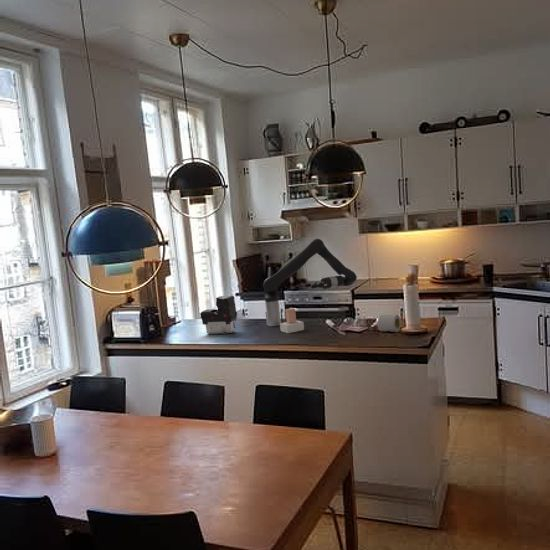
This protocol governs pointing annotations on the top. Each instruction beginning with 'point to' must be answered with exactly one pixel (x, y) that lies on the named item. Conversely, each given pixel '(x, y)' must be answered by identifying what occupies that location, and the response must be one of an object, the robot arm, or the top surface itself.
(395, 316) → the toilet paper
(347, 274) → the robot arm
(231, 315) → the bill acceptor
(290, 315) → the tall brown pillar
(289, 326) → the white square socket block
